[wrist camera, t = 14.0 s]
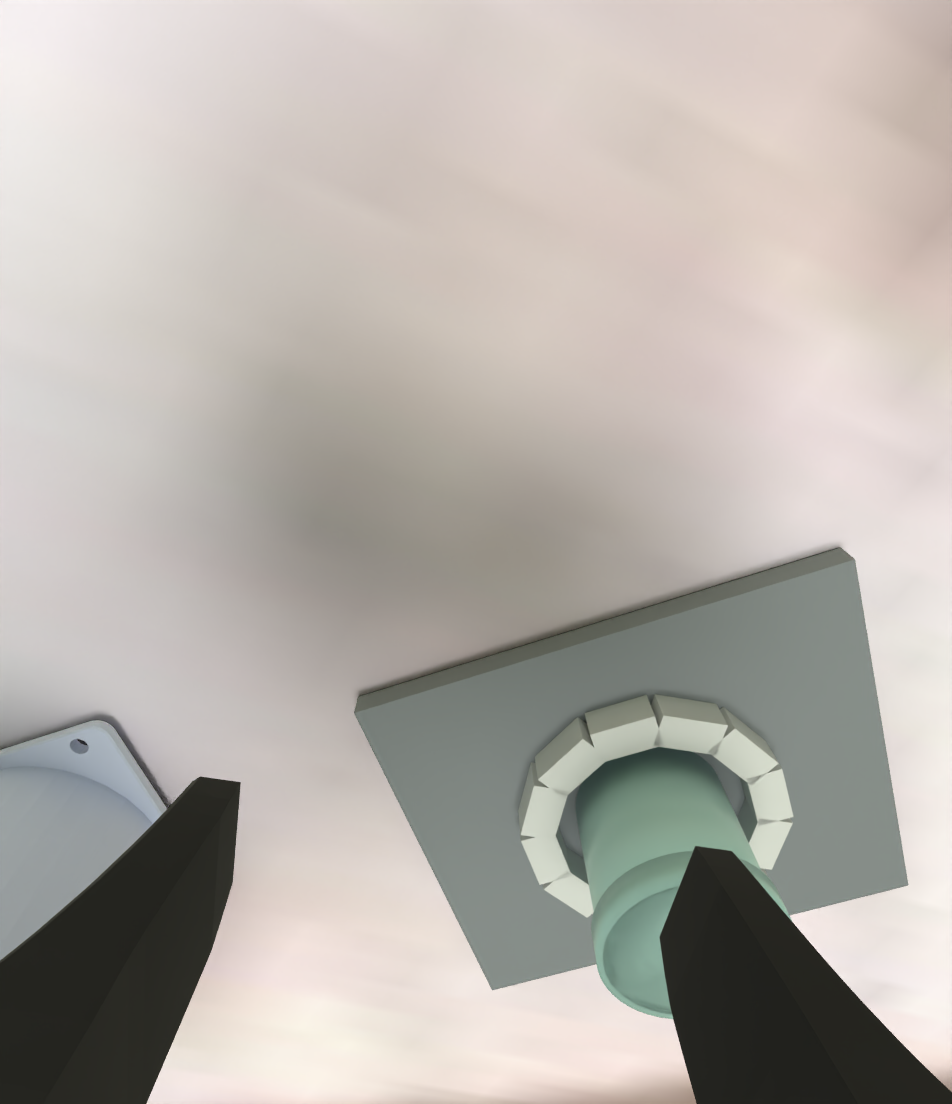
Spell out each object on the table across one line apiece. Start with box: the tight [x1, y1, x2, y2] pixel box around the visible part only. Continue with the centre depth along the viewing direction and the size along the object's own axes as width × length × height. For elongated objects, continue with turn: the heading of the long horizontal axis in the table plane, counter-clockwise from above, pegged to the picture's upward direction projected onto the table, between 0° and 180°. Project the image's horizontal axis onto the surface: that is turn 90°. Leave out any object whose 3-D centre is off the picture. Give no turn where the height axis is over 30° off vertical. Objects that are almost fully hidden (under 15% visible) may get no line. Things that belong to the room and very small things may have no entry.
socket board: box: [354, 548, 908, 990], centre depth 22 cm, size 14×12×2 cm
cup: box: [575, 747, 792, 1019], centre depth 20 cm, size 5×5×5 cm
